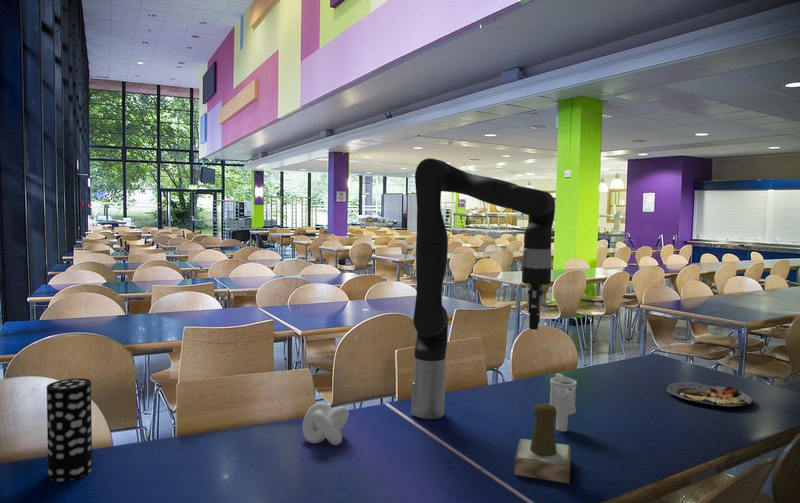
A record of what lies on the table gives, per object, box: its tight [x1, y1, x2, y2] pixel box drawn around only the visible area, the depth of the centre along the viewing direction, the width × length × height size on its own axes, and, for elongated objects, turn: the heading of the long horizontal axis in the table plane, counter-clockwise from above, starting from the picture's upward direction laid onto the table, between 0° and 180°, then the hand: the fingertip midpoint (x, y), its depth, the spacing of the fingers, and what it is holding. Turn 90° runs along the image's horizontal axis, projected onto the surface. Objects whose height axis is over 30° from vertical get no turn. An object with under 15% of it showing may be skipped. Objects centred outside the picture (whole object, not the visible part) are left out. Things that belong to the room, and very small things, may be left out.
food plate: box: [666, 381, 754, 408], centre depth 179 cm, size 25×23×4 cm
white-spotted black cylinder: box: [46, 377, 93, 482], centre depth 118 cm, size 8×8×20 cm
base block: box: [514, 438, 571, 484], centre depth 125 cm, size 12×12×4 cm
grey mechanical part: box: [549, 372, 578, 432], centre depth 149 cm, size 7×7×15 cm
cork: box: [530, 402, 557, 456], centre depth 125 cm, size 6×6×11 cm
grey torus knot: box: [302, 402, 350, 446], centre depth 138 cm, size 11×12×9 cm
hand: (534, 326), depth 142 cm, fingers open, 8 cm apart
